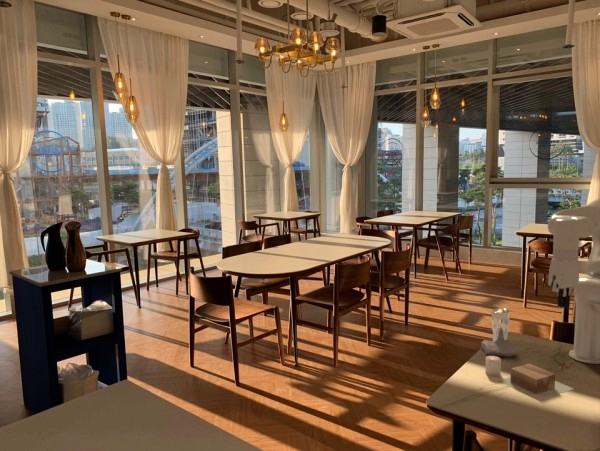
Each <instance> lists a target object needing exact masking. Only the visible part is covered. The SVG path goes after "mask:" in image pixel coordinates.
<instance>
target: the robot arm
mask: <svg viewBox="0 0 600 451" xmlns="http://www.w3.org/2000/svg"><path fill="white" fill-rule="evenodd" d="M547 222H548V223H547V230H548V232H549V234H551V235H553V244H552V246H553V247H552V259H551V261H550V264H549V271H548V280H547V282H548V286H549V287H552V289H551V291H552V292H553V293H556V295H557V307H560V308H564V309H567V308H570V297H571V296H572V291H573V294H574V300H575V317H574V335H573V336H574V337H573V349H570V351H568V356H569V357H570V358H571V359H573V360H575V361H577V362H582V363H586V364H592V365H593V364H594V365H600V198H596V199H593V200H592V201H590V202H589V203H588V204H586V205H584V206H583V205H582V206H577V207H573V208H567V209H563V210H559V211H558V212H556V213H554V214H552V216H550V218H549V220H548V221H547ZM589 237H591V240H592V248H591V252H590V254H589V257H588V259H587V262H586V266H585V273H586V275H587V276H585V277H583V276H582V277H580V265H579V245H580V244H579V243H580V239H586V238H589Z"/></svg>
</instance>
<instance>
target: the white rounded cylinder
mask: <svg viewBox="0 0 600 451" xmlns="http://www.w3.org/2000/svg"><path fill="white" fill-rule="evenodd" d="M501 366H502V359H501V358H500V357H499V356H497V355H487V356H485V372H484V373H485V374H486V375H487V376H490V377H500V376H501V371H502V370H501V369H502V368H501Z"/></svg>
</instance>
